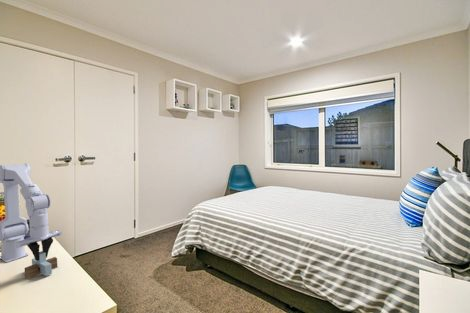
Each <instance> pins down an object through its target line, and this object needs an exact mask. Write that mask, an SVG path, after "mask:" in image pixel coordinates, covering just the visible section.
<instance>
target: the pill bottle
mask: <svg viewBox="0 0 470 313" xmlns="http://www.w3.org/2000/svg"><path fill="white" fill-rule="evenodd" d="M26 220H27V224H28V228H29V230H28V233H27V234H25V237H24V239H27V238H29V237H30V222H29V219H26Z"/></svg>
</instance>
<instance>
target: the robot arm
mask: <svg viewBox="0 0 470 313" xmlns="http://www.w3.org/2000/svg"><path fill="white" fill-rule="evenodd" d="M30 175H31V166H30V164H28V163H27V162H26V163H19V164H18V163H16V164H0V184H2V186H3V200H4V214H5V215H4V216H5V217H4V219H2V220H1V221H0V253H1V254H0V257H1V258H0V260H1V259H2V260H1V261H3V262H4V263H9V262H12V261H14V260H17V259H21V258H24V257H27V256H29V253H27V252H26V251H25V246H27V247H28V248H29V250H30V252H31V253H32V254H33V258H35V260H36V261H38V260H39V252H40V246H41V249H42V250H41V251H43V252H45V253H46V259H47V258H48V254H49V250H50V248H51V246H52V244H53V242H54V237H59V236H62V235H63V234H62V230H60V229H58V230H55V231H50V228H49V214H48V212H49V211H48V209H49V208H50V207H51V199H50V196H49V194H47V193H45V192H44V193H43V192H42V191H41V188H39V186H38V185H37V184H36V183H33V182H32V180H31V178H30ZM19 186H20V189H19ZM19 192H20V194H21V196H22V197H23V199H24V201H25V208H26V213H27V216H28V217H29V222H30V237H29V238H27V239H24V237H25V234H27V233H28V230H29V228H28V224H27V220H28V219H26V218H25V217H23V216H20V199H19V197H20V195H19ZM38 242H40V244H41V245H40V244H39V243H38Z"/></svg>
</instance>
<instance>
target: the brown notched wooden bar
mask: <svg viewBox="0 0 470 313" xmlns="http://www.w3.org/2000/svg"><path fill="white" fill-rule="evenodd" d="M46 261H47V262H49V263H51V267H52V270H54V269H57V268H58V258H57V257H56V256H53V257H51V258H48V259H46ZM39 275H42V274H41V273H40V268H38V265H37V264H34V265H32V264H31V265H29V266H26V267H24V279H26V280H29V279H32V278H33V277H37V276H39Z"/></svg>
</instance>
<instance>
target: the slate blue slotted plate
mask: <svg viewBox="0 0 470 313" xmlns="http://www.w3.org/2000/svg"><path fill="white" fill-rule="evenodd" d="M46 260H47V258H46V253H45V252H43V251H42V250H41V251H39V260H38V261H36V260H35V258H34V257H33V258H32V259H31V265H34V264H37V265H38V268H40V273H41V274H40V275H43V276H45V277H48V276H49V275H52V274H53V269H52V267H51V263H49V262H47V261H46Z"/></svg>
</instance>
